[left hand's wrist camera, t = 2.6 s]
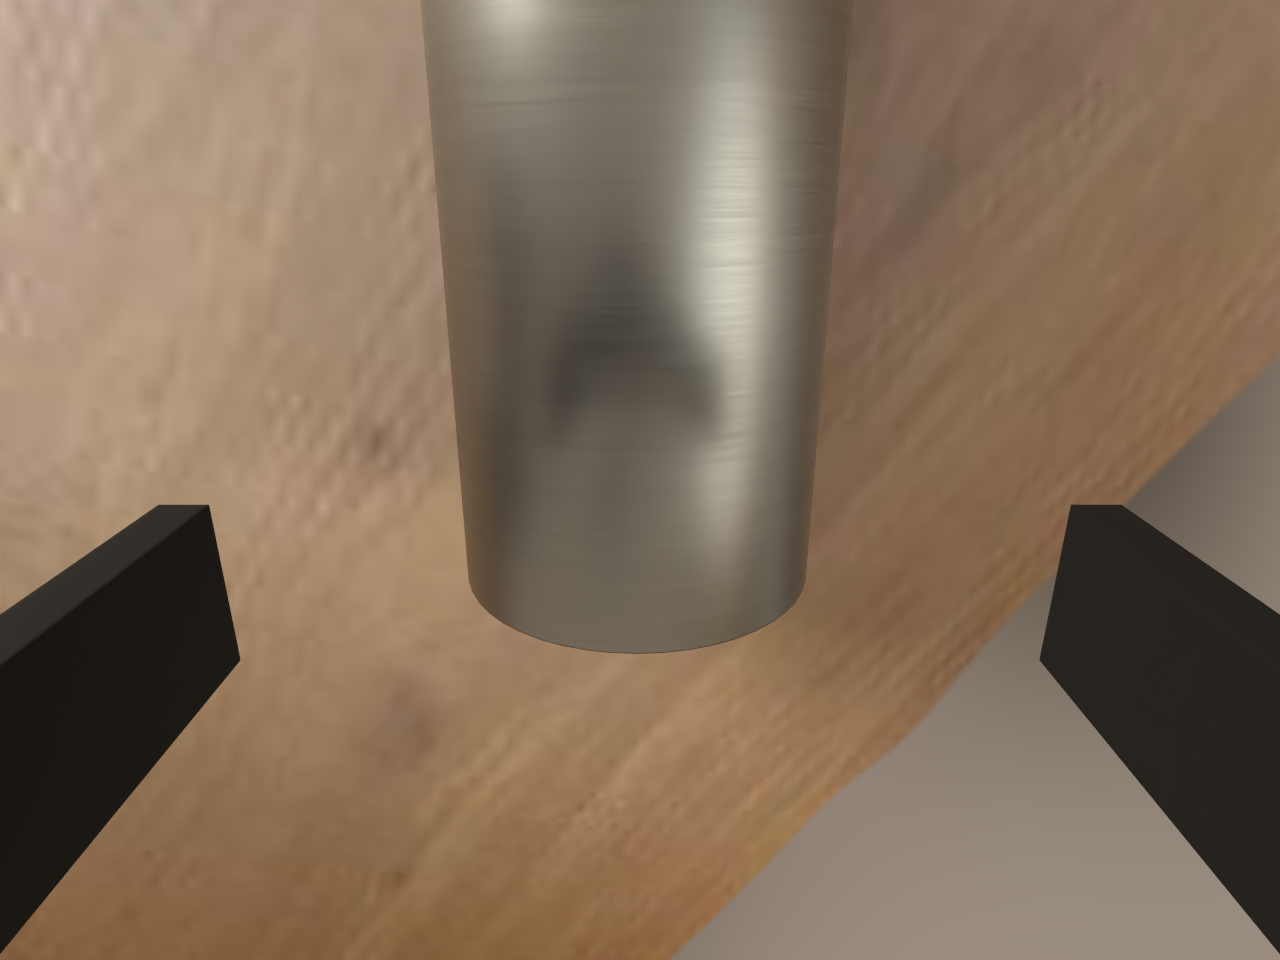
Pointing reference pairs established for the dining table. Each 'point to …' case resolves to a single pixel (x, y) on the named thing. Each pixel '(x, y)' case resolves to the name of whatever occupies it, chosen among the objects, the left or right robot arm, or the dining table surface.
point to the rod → (636, 304)
